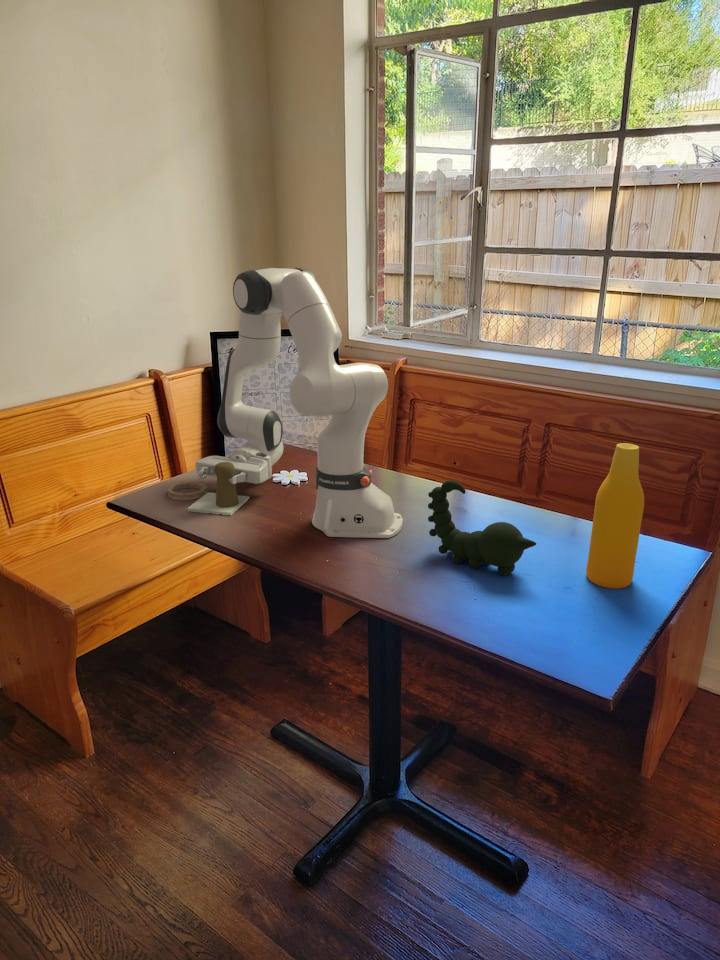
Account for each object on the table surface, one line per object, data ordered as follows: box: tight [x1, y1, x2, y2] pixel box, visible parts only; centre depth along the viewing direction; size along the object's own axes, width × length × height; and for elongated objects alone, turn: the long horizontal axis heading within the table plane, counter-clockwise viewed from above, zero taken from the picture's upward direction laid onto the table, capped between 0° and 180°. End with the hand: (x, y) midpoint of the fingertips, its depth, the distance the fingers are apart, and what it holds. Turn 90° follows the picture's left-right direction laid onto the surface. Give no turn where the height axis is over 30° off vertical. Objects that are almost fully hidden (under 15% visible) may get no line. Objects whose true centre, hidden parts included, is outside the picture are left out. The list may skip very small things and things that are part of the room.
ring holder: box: [167, 480, 209, 501], centre depth 189 cm, size 10×10×2 cm
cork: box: [214, 462, 239, 507], centre depth 178 cm, size 6×6×11 cm
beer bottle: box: [585, 442, 645, 590], centre depth 139 cm, size 9×9×29 cm
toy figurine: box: [427, 479, 537, 576], centre depth 146 cm, size 9×19×25 cm
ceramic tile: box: [186, 491, 250, 517], centre depth 181 cm, size 12×12×1 cm
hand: (215, 478), depth 178 cm, fingers open, 8 cm apart
